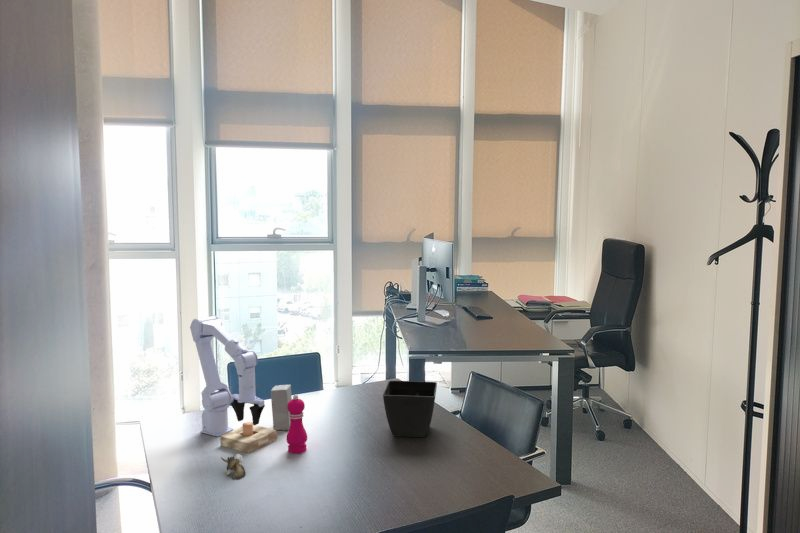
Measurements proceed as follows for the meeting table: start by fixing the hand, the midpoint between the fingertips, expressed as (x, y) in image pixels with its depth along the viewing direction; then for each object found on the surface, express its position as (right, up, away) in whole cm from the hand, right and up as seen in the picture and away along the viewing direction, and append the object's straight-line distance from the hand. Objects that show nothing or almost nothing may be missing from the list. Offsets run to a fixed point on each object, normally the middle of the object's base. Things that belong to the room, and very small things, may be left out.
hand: (248, 422), depth 217 cm
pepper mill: (+19, -8, -7) cm, 22 cm away
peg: (0, -6, 0) cm, 6 cm away
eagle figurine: (+2, -10, -25) cm, 27 cm away
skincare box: (+9, -6, +16) cm, 20 cm away
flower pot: (+59, -6, +10) cm, 60 cm away
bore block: (0, -8, +1) cm, 8 cm away
